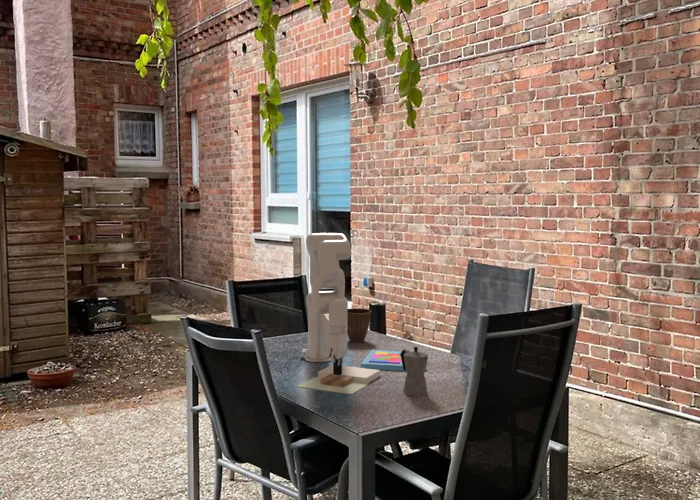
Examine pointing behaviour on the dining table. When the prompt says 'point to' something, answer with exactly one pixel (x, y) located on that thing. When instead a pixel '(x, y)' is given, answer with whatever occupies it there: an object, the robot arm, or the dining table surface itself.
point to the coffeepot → (414, 372)
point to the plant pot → (358, 324)
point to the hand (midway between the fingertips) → (337, 374)
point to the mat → (347, 389)
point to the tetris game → (383, 360)
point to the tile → (336, 380)
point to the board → (353, 373)
